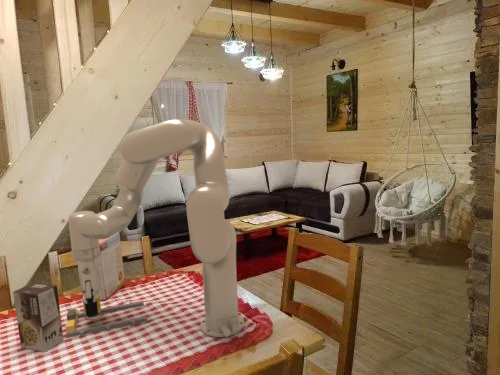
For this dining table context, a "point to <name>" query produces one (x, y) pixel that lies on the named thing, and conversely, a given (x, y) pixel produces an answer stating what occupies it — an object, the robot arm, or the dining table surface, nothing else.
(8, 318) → the dining table surface
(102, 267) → the cracker box
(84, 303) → the supplement bottle
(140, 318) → the gray parallel rail frame
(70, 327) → the long yellow crossbar
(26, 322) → the coffee box
